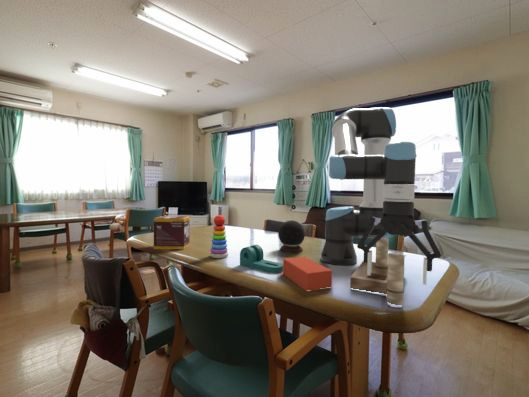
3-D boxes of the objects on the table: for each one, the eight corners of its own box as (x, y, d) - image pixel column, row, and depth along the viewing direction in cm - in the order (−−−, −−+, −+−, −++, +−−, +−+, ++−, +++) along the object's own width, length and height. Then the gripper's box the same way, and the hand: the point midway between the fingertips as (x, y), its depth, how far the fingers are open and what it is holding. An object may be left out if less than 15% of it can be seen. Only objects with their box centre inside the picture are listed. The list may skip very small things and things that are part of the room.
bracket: (239, 265, 112) (240, 246, 112) (250, 262, 118) (250, 243, 117) (276, 274, 101) (276, 253, 101) (286, 270, 107) (286, 250, 106)
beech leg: (385, 306, 75) (387, 255, 75) (387, 300, 79) (388, 252, 78) (402, 309, 73) (404, 257, 73) (403, 303, 77) (405, 254, 76)
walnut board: (350, 289, 87) (351, 245, 86) (363, 271, 106) (364, 234, 105) (399, 299, 80) (401, 251, 79) (404, 277, 99) (405, 238, 98)
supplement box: (184, 249, 137) (184, 218, 136) (153, 249, 137) (153, 218, 137) (190, 245, 148) (190, 216, 147) (161, 244, 148) (161, 215, 147)
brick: (282, 274, 102) (282, 258, 102) (304, 272, 105) (304, 256, 105) (307, 292, 85) (307, 273, 85) (332, 288, 88) (332, 270, 88)
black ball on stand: (279, 253, 131) (280, 222, 130) (276, 247, 144) (277, 218, 144) (307, 253, 132) (307, 222, 131) (302, 247, 145) (302, 218, 144)
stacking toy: (231, 257, 124) (231, 215, 123) (214, 259, 120) (214, 216, 119) (223, 253, 131) (223, 213, 130) (207, 255, 126) (207, 214, 125)
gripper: (347, 199, 78) (346, 274, 78) (455, 203, 65) (452, 291, 66) (353, 198, 84) (351, 267, 85) (452, 201, 72) (449, 282, 73)
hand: (395, 278), depth 76 cm, fingers open, 13 cm apart
